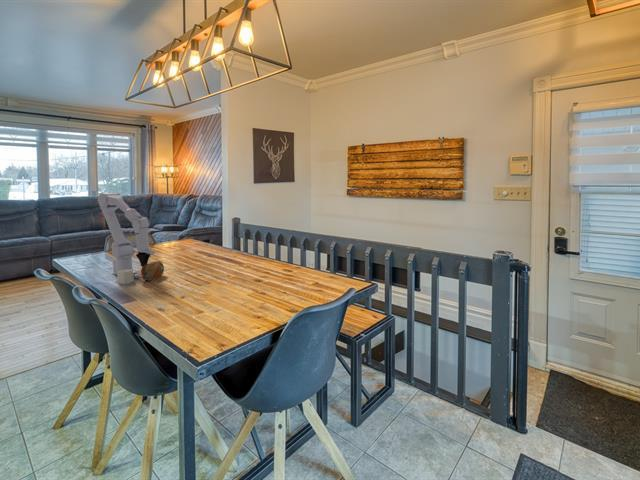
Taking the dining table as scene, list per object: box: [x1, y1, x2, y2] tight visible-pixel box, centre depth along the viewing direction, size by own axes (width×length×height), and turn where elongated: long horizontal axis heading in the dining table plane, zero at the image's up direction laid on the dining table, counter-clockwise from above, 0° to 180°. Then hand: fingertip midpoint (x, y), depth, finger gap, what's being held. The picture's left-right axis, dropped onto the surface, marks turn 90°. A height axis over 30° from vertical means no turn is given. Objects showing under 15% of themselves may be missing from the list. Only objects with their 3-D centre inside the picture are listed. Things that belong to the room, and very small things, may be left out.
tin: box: [140, 260, 165, 281], centre depth 184 cm, size 15×3×8 cm, turn 168°
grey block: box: [116, 269, 135, 285], centre depth 177 cm, size 5×5×6 cm
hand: (144, 266), depth 186 cm, fingers closed
